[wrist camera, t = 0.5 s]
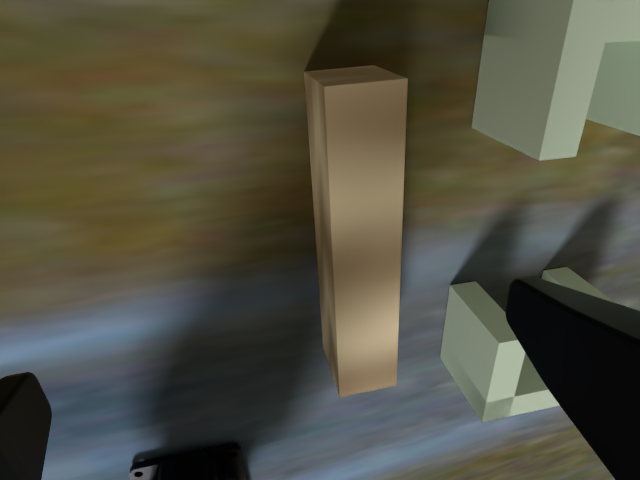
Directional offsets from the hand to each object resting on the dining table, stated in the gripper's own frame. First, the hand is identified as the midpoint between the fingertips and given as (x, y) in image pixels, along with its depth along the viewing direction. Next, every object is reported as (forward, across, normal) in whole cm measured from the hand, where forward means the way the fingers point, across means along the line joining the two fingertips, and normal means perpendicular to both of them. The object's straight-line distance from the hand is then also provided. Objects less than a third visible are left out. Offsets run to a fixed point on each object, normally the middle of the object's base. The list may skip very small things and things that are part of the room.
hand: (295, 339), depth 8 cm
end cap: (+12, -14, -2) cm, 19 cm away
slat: (+13, -4, +4) cm, 14 cm away
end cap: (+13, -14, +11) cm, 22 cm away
